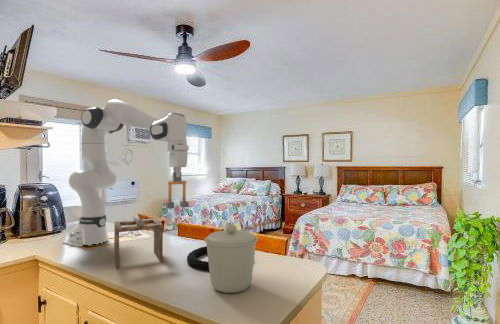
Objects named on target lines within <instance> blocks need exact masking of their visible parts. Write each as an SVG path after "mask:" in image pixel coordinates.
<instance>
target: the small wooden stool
mask: <svg viewBox="0 0 500 324" xmlns="http://www.w3.org/2000/svg"><path fill="white" fill-rule="evenodd" d="M113 225H114V233H113V234H114V239H113V241H114V243H113V244H114V248H113V249H114V252H113V255H114V256H113V257H114V264H115V269H116V270H119V268H120V233H124V232H134V231H145V230H147V231H148V230H153V253H154V255H155V257H156V258H157V260H158V262H159V263H163V260H164V259H163V249H164V248H163V241H164V240H163V238H164V236H163V234H164V229H163V227H164V225H163V223H162V222H161V221H160V220H158V219H157V218H155V217H154V218H147V219H144V218H143V219H141V218H140V215H138V214H135V215H133V219H132V220H120V221H114V224H113Z"/></svg>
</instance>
